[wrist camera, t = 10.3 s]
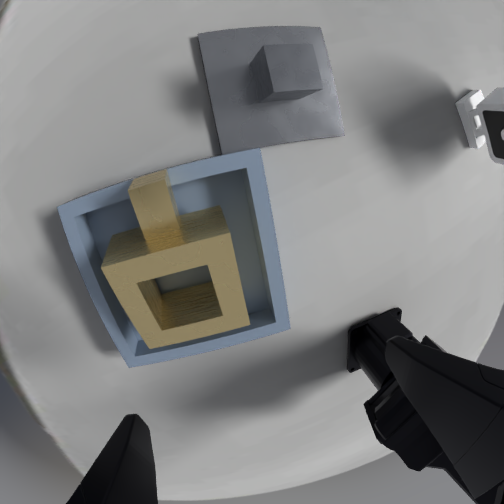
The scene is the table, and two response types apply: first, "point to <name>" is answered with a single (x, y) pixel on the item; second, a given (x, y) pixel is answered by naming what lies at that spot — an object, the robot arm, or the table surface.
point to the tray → (246, 253)
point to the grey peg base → (270, 86)
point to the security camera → (484, 121)
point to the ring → (174, 267)
